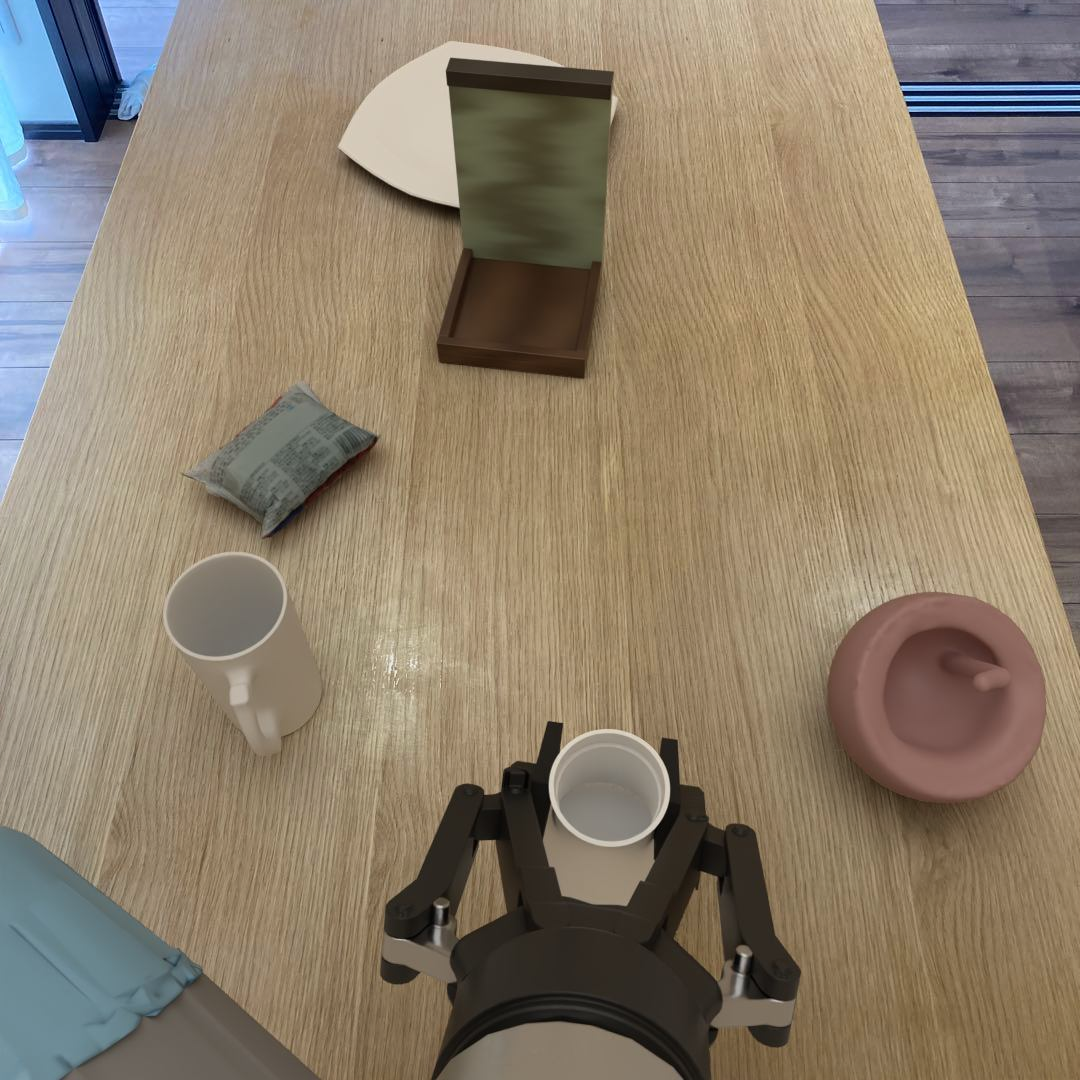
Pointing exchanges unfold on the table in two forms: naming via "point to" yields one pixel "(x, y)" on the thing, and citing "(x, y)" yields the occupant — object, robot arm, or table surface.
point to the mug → (245, 645)
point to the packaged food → (284, 459)
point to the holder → (527, 214)
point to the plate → (419, 123)
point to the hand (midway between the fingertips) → (608, 756)
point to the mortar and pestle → (938, 697)
